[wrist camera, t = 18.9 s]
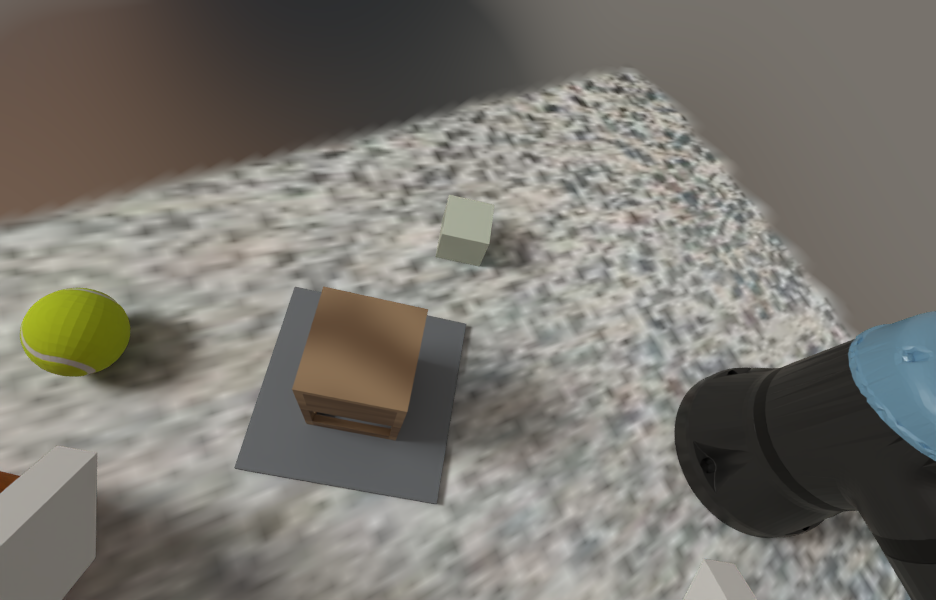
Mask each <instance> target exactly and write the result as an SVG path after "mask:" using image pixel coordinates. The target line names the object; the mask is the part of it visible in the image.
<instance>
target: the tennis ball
mask: <svg viewBox="0 0 936 600" xmlns="http://www.w3.org/2000/svg"><path fill="white" fill-rule="evenodd" d="M129 338H130V324H129V319H128V317H127V315H126V313H125V311H124V309H123V308H122V307H121V306H120V305H119V304H118V303H117V302H116V301H115V300H114V299H112V298H111V297H110V296H108V295H106V294H104V293H102V292H99V291H96V290H92V289H87V288H69V289H64V290H59V291H56V292H54V293H51V294H49V295H47V296H45V297H43V298H41V299H40V300H39V301H37V302H36V303H35V304H34V305H33V306H32V307H31V308H30V309H29V310H28V312H27V314H26V315H25V317H24V319H23V321H22V324H21V329H20V340H21V344H22V346H23V349H24V351H25V353H26V355H27V356H28V357H29V358H30V360H31V361H33V362H34V363H35V364H36V365H38V366H39V367H40V368H42V369H44V370H46V371H48V372H51V373H54V374H57V375H62V376H84V375H87V374H91V373H96V372H99V371H101V370H103V369H105V368H107V367H109V366H110V365H111V364H113V363H114V362H115V361H116V360H117V359H118V358H119V357H120V356H121V355H122V353H123V352H124V350H125V349H126V347H127V345H128V342H129Z"/></svg>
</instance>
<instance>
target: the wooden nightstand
mask: <svg viewBox="0 0 936 600" xmlns="http://www.w3.org/2000/svg"><path fill="white" fill-rule="evenodd" d="M427 312H428V309H424V308H419V307H415V306H410V305H405V304H401V303H396V302H392V301H387V300H383V299H378V298H373V297H369V296H364V295H360V294H355V293H351V292H346V291H341V290H337V289H332V288H328V287H323V290H322V293H321V296H320V299H319V303H318V306H317V309H316V313H315V316H314V319H313V322H312V326H311V329H310V332H309V335H308V339H307V342H306V345H305V348H304V352H303V355H302V358H301V362H300V365H299V368H298V371H297V375H296V378H295V381H294V384H293V388H292V391H293V393H294V395H295V398H296V400H297V403H298V405H299V407H300V410H301V412H302V415H303V417H304V419H305V422H306V424H310V425H315V426H321V427H326V428H331V429H337V430H342V431H347V432H352V433H358V434H363V435H368V436H374V437H379V438H384V439H390V440H395V441H396V438H397V436H398V433H399V431H400V429H401V426H402V424H403V421H404V419H405V416H406V414H407V411H408V406H409V401H410V396H411V391H412V387H413V382H414V377H415V372H416V367H417V362H418V357H419V352H420V347H421V342H422V337H423V332H424V327H425V322H426V317H427ZM317 412H319V413H324V414H330V415H335V416H340V417H345V418H351V419H356V420H361V421H366V422H371V423H377V424H382V425H387V426H391V429H390V428H385V427H379V426H374V425H369V424H364V423H359V422H353V421H348V420H343V419H338V418H332V417H327V416H322V415H317Z"/></svg>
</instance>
